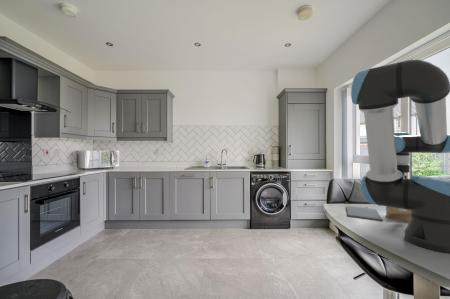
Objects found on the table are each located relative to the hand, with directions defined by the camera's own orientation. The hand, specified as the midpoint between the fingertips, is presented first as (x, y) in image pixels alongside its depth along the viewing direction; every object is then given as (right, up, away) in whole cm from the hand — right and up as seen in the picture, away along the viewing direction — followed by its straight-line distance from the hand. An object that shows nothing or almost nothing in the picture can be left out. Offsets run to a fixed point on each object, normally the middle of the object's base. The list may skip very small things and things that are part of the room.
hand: (399, 207), depth 104 cm
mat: (-14, -5, +7) cm, 16 cm away
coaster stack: (0, -5, 0) cm, 5 cm away
